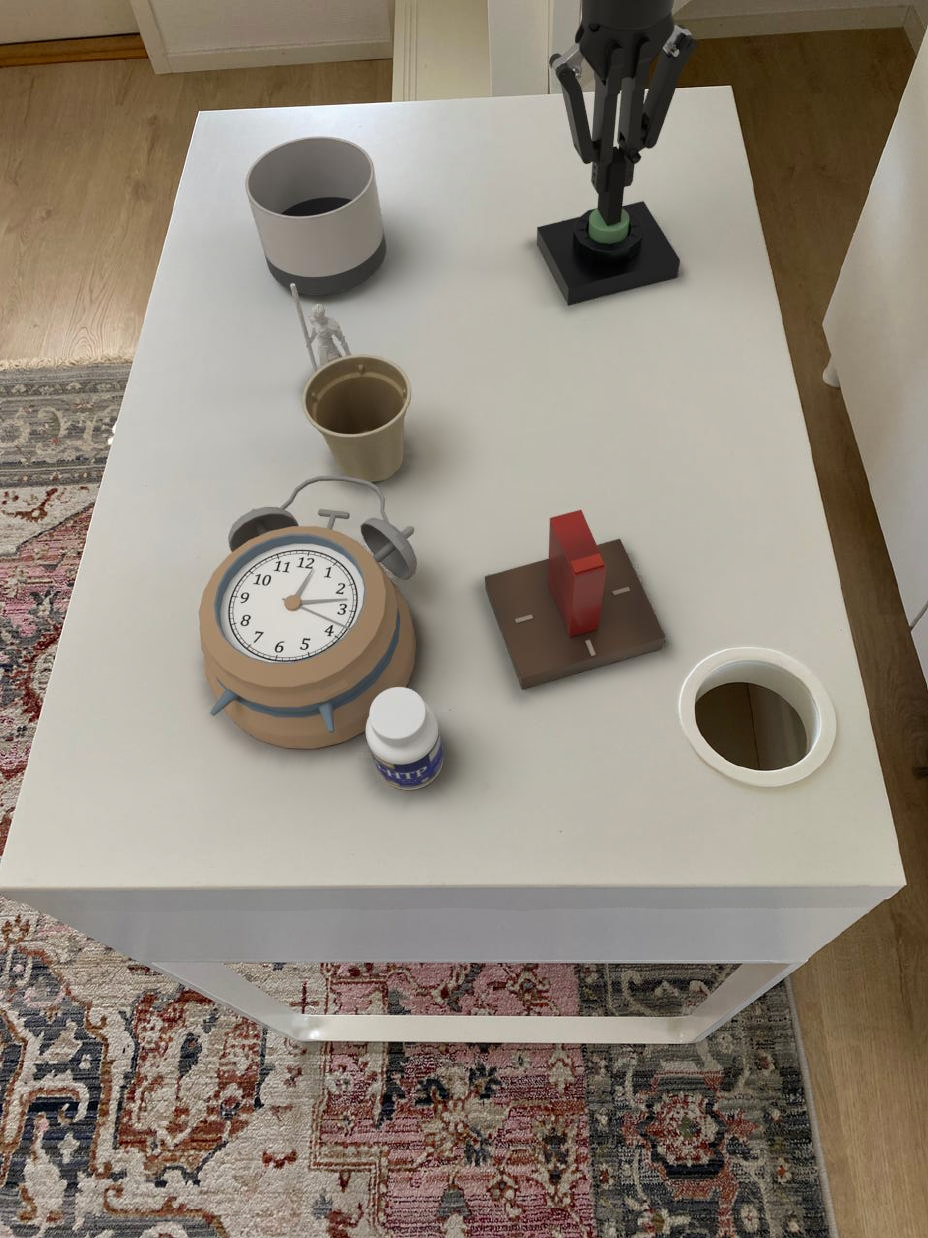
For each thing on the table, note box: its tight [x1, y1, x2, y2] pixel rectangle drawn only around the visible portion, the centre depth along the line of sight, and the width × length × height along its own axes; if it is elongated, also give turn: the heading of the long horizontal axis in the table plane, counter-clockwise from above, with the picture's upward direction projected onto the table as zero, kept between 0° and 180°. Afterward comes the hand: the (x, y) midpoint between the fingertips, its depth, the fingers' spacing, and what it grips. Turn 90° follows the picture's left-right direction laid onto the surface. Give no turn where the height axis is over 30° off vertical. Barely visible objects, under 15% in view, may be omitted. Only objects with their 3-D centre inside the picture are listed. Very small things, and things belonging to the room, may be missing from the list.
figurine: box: [290, 283, 353, 374], centre depth 87 cm, size 5×5×12 cm
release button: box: [589, 208, 629, 244], centre depth 96 cm, size 4×4×2 cm
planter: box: [244, 135, 387, 296], centre depth 97 cm, size 13×13×10 cm
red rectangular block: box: [548, 509, 607, 637], centre depth 72 cm, size 6×2×9 cm, turn 16°
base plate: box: [484, 538, 666, 690], centre depth 77 cm, size 12×10×2 cm
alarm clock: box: [198, 475, 418, 750], centre depth 75 cm, size 17×9×23 cm
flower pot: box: [301, 353, 412, 483], centre depth 84 cm, size 9×9×9 cm
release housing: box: [536, 200, 681, 306], centre depth 98 cm, size 12×10×4 cm
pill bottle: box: [365, 687, 444, 791], centre depth 69 cm, size 5×5×9 cm
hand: (609, 215), depth 95 cm, fingers closed
